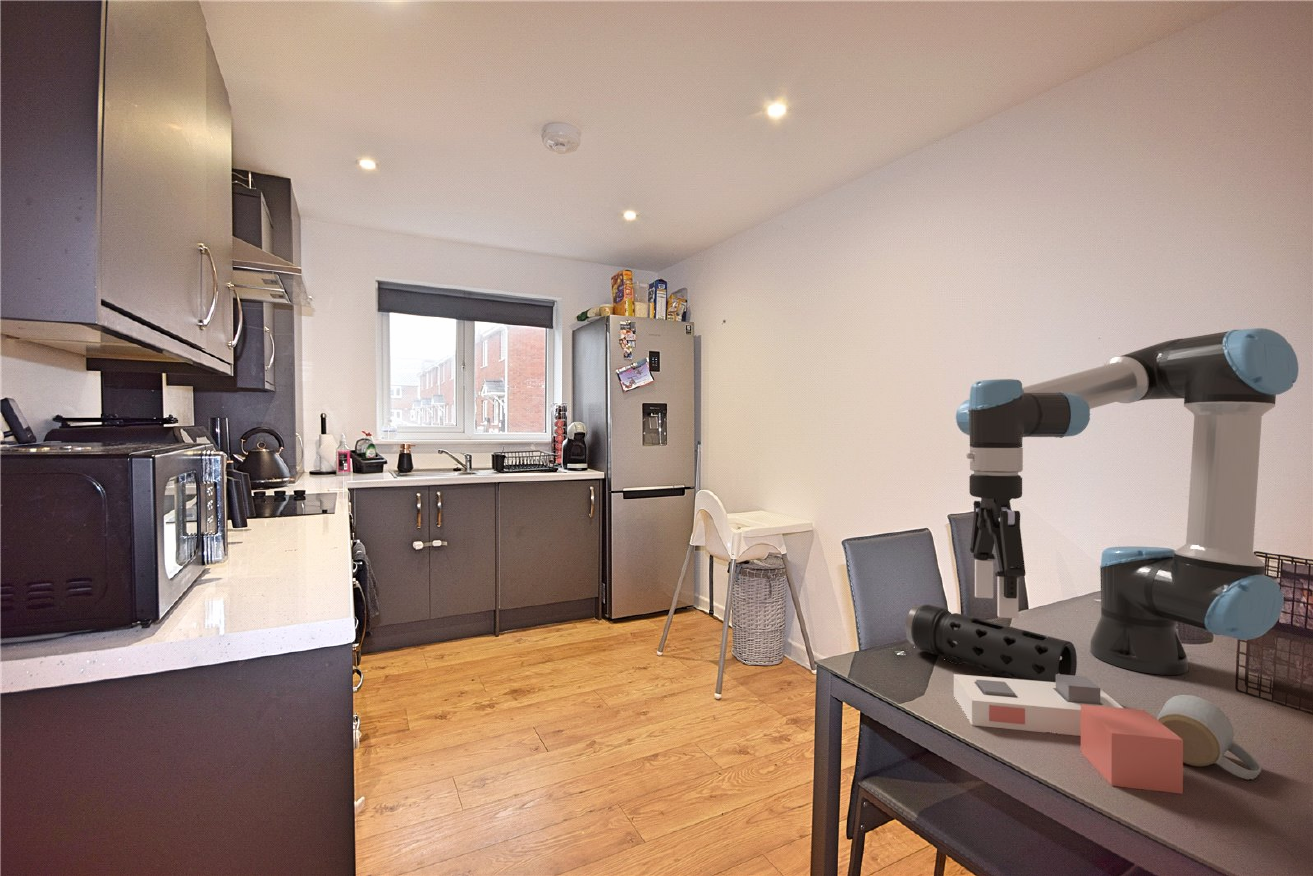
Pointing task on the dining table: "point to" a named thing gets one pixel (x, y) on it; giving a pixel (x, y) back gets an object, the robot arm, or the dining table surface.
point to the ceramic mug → (1205, 735)
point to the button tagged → (995, 688)
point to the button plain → (1077, 689)
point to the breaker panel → (1022, 706)
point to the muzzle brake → (989, 645)
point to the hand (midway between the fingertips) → (995, 606)
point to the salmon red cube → (1132, 748)
